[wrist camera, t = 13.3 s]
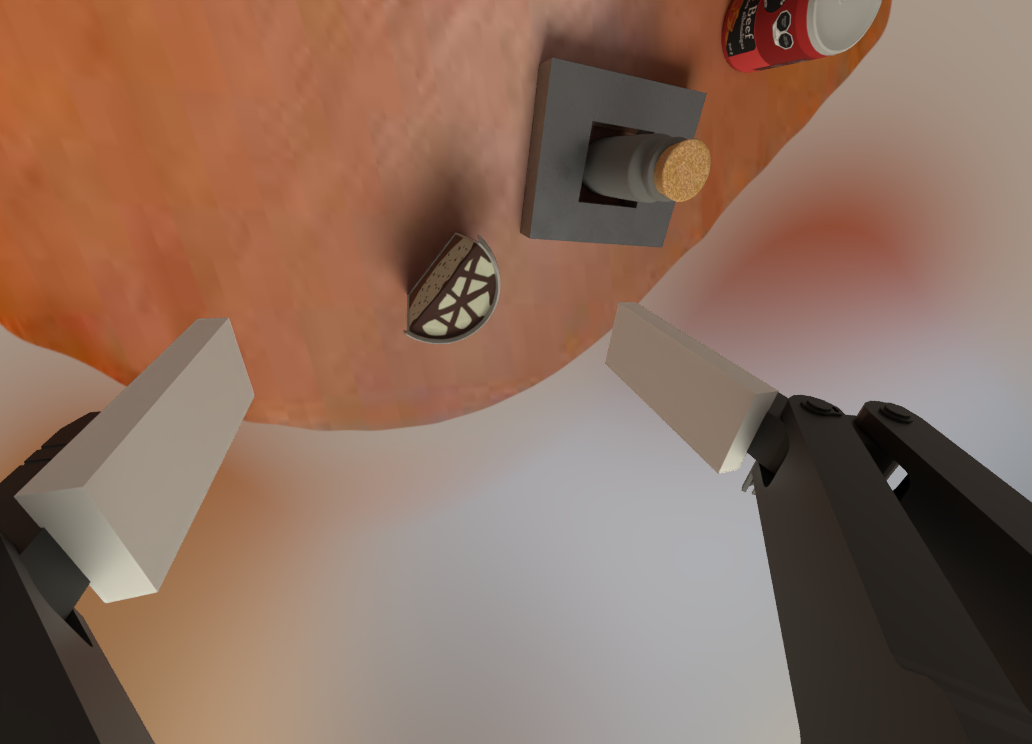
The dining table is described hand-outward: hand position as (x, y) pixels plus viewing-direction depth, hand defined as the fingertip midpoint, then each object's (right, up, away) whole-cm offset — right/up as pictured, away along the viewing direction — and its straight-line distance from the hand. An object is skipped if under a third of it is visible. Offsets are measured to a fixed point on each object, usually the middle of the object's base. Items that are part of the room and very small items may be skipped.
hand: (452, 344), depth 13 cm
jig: (+12, +23, +31) cm, 40 cm away
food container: (-6, +10, +32) cm, 34 cm away
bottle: (+12, +23, +31) cm, 40 cm away
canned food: (+28, +37, +28) cm, 54 cm away
